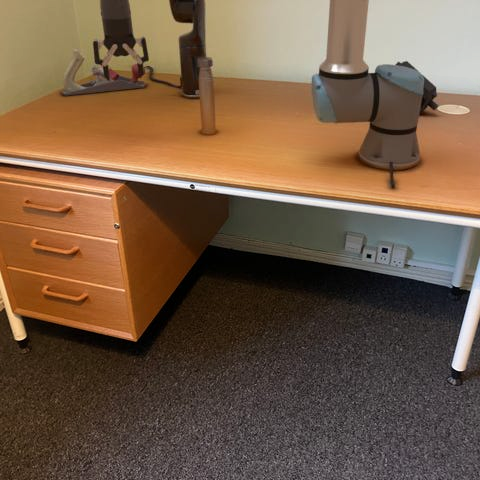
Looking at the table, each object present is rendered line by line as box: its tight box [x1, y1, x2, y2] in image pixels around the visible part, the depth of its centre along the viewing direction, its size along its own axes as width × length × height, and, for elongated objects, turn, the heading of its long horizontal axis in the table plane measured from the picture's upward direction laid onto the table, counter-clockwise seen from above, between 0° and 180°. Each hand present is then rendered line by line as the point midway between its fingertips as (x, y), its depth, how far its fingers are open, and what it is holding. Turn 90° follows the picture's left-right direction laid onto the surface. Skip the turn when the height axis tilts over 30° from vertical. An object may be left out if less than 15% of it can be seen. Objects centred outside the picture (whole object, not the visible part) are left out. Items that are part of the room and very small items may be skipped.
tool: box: [395, 60, 439, 114], centre depth 169 cm, size 6×19×15 cm, turn 51°
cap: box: [198, 56, 214, 68], centre depth 148 cm, size 4×4×2 cm
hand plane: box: [61, 48, 146, 96], centre depth 194 cm, size 7×31×15 cm, turn 107°
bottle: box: [199, 67, 217, 136], centre depth 153 cm, size 4×4×21 cm
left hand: (124, 78), depth 146 cm, fingers open, 8 cm apart
